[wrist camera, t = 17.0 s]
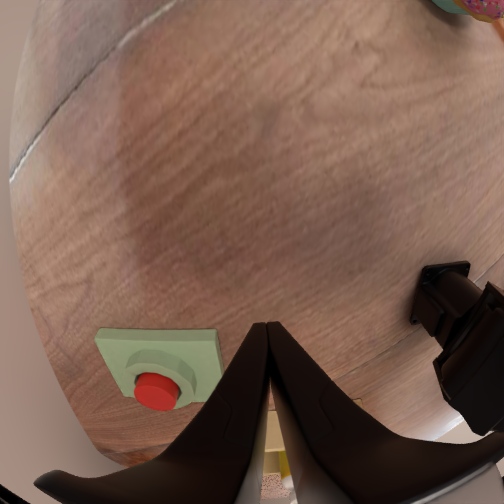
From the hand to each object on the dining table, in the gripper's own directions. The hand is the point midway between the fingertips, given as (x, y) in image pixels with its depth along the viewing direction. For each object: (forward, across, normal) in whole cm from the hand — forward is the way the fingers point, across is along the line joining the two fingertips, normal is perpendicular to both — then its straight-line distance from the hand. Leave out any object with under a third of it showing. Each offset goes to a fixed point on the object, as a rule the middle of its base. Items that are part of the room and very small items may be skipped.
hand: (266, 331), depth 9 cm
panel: (+12, +10, +14) cm, 21 cm away
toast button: (+9, +10, +14) cm, 19 cm away
